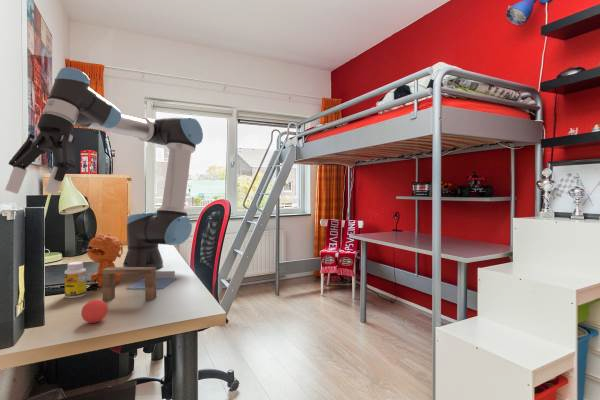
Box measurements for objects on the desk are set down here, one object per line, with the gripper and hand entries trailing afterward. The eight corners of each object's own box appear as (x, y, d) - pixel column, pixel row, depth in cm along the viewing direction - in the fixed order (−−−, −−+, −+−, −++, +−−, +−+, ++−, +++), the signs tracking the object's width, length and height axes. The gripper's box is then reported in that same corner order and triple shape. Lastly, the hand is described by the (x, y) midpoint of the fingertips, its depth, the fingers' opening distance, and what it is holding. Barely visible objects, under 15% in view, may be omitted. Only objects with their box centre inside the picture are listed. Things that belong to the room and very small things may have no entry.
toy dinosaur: (90, 282, 114) (89, 231, 114) (124, 278, 118) (124, 230, 118) (83, 291, 104) (81, 235, 103) (121, 287, 108) (120, 233, 108)
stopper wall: (148, 277, 120) (148, 271, 120) (175, 277, 120) (175, 271, 120) (146, 278, 118) (146, 272, 118) (173, 278, 118) (173, 272, 118)
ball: (90, 317, 82) (90, 296, 82) (112, 317, 82) (112, 296, 82) (76, 326, 77) (75, 304, 77) (99, 326, 77) (99, 303, 77)
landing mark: (143, 279, 118) (143, 278, 118) (176, 278, 118) (176, 278, 118) (126, 289, 106) (126, 288, 106) (162, 289, 106) (162, 288, 106)
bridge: (108, 297, 98) (107, 267, 98) (156, 297, 98) (156, 267, 98) (102, 300, 95) (102, 269, 95) (152, 300, 95) (151, 269, 95)
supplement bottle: (60, 297, 98) (59, 264, 97) (78, 292, 103) (78, 260, 102) (72, 299, 96) (72, 265, 95) (91, 294, 101) (90, 261, 100)
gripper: (11, 114, 88) (-21, 186, 82) (82, 109, 82) (53, 187, 75) (38, 128, 95) (11, 195, 89) (105, 125, 89) (81, 198, 82)
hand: (30, 192), depth 82 cm, fingers open, 13 cm apart
